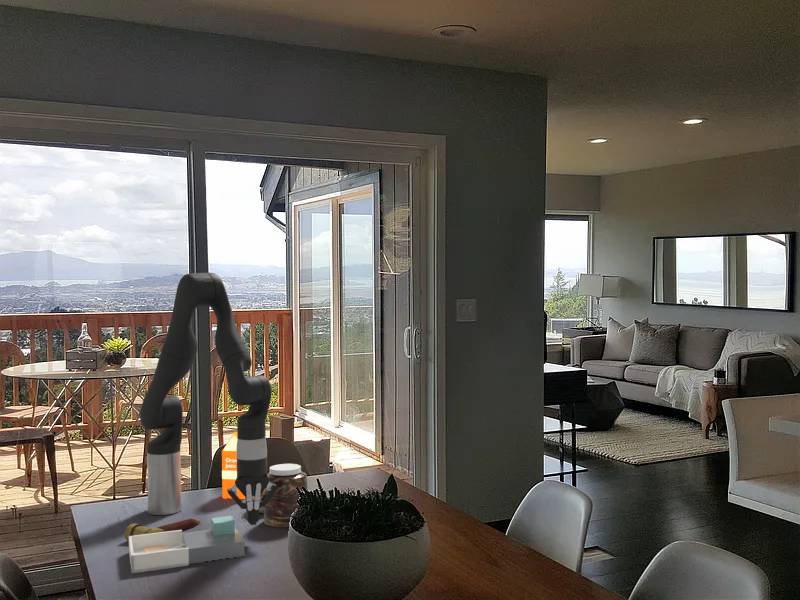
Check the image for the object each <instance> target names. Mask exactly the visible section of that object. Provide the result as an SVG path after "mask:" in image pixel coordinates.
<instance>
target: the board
mask: <svg viewBox="0 0 800 600" xmlns="http://www.w3.org/2000/svg"><path fill="white" fill-rule="evenodd" d="M182 545H183V548H189V565H192V564H193V565H194V564H199V563H206V562H205V561H208V562H213V561H212V560H215V561H220V560H219V559H222V560H227V559H226V558H229V559H235V558H234V557H237V558H243V557H242V556H244V557H245V554H246V553H245V541H244V538H243V537H242V535H241V534H240V532H239V531H238V528H237V527H236V526H235V533H233V534H225V535H217V536H214V534H213V532H212V530H211V529H204V530H195V531H194V530H193V531H187V532H182Z"/></svg>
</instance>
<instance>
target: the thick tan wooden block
mask: <svg viewBox="0 0 800 600" xmlns="http://www.w3.org/2000/svg"><path fill="white" fill-rule="evenodd" d="M165 550H168V549H167V545H166V544H161V545H153V546H144V553H150V552H157V551H165Z"/></svg>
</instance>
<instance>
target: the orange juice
mask: <svg viewBox="0 0 800 600" xmlns="http://www.w3.org/2000/svg"><path fill="white" fill-rule="evenodd" d="M236 448H237V431H235V432H234V433H233V434H232V435H231V437H230V438H229V440H228V441H227V443H226V445H225V446H224V448H223V449H222V450H221V478H222V479H221V480H222V481H221V483H222V484H221V486H222V499H227V498H230V499H232V498H231V496H230V495H229V494H228V493H227V489H228V488H231V487H232V486H234V485H235V480H236V478H237V450H236ZM237 492H238V494H237V496H238V497H239V498H240V500H245V496H244V495H243V494H242V493H241V492H240V490H239V489H238V488H237ZM232 500H233V499H232Z"/></svg>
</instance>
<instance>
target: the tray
mask: <svg viewBox="0 0 800 600" xmlns="http://www.w3.org/2000/svg"><path fill="white" fill-rule="evenodd" d="M182 533H183V530H176V531H167V532H159V533H151V534H143V535H134V536H129V541H128V555H129V564H130V565H131V566H130V571H131V572H130V573H131V574H137V573H145V572H152V571H159V570H160V571H161V570H167V569H174V568H180V567H181V568H182V567H189V566H190V564H189V548H183V545H182ZM161 544H166V545H167V549H168V550H165V551H157V552H150V553H144V546H153V545H161Z"/></svg>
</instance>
